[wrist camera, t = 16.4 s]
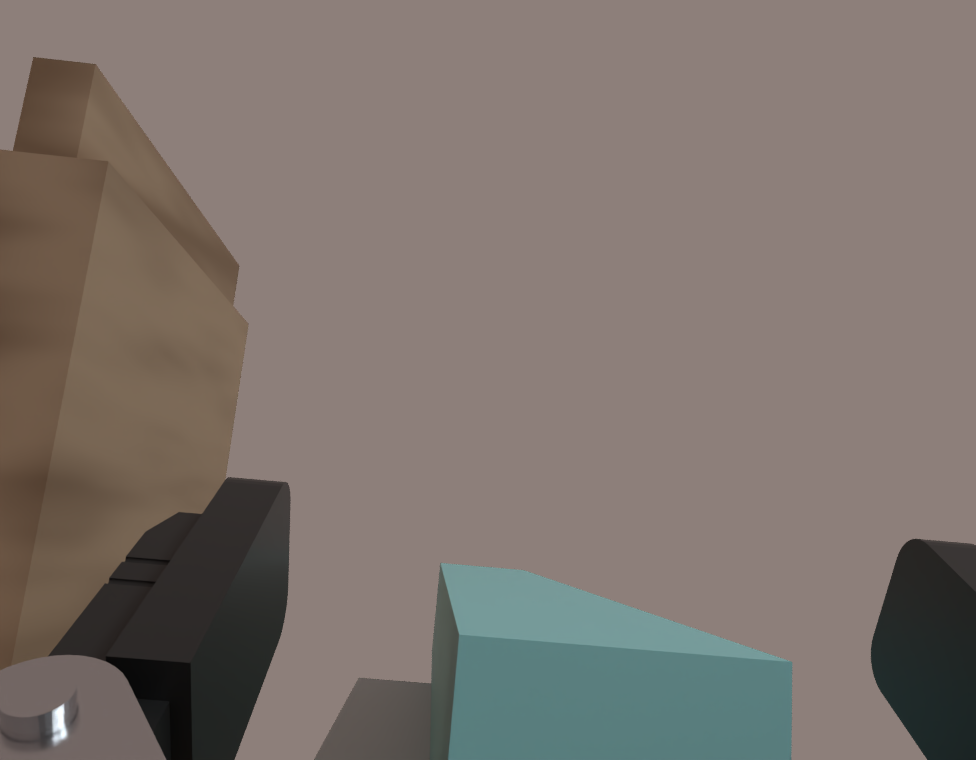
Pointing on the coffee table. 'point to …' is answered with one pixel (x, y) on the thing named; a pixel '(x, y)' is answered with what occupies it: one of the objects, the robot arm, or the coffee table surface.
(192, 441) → the post
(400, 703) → the tall gray pillar
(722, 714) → the bar
